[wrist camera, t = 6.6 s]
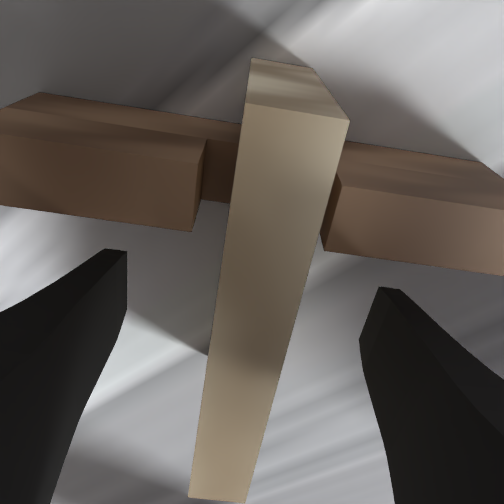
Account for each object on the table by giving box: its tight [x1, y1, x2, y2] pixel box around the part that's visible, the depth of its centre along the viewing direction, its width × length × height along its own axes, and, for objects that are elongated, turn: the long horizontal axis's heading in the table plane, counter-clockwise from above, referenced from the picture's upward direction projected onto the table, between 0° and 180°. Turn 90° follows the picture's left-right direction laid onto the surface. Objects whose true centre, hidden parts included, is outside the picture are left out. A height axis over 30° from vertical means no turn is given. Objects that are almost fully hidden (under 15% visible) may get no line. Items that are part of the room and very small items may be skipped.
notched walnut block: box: [0, 92, 504, 276], centre depth 12 cm, size 14×2×4 cm, turn 81°
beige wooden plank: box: [188, 58, 350, 503], centre depth 13 cm, size 2×12×6 cm, turn 171°
